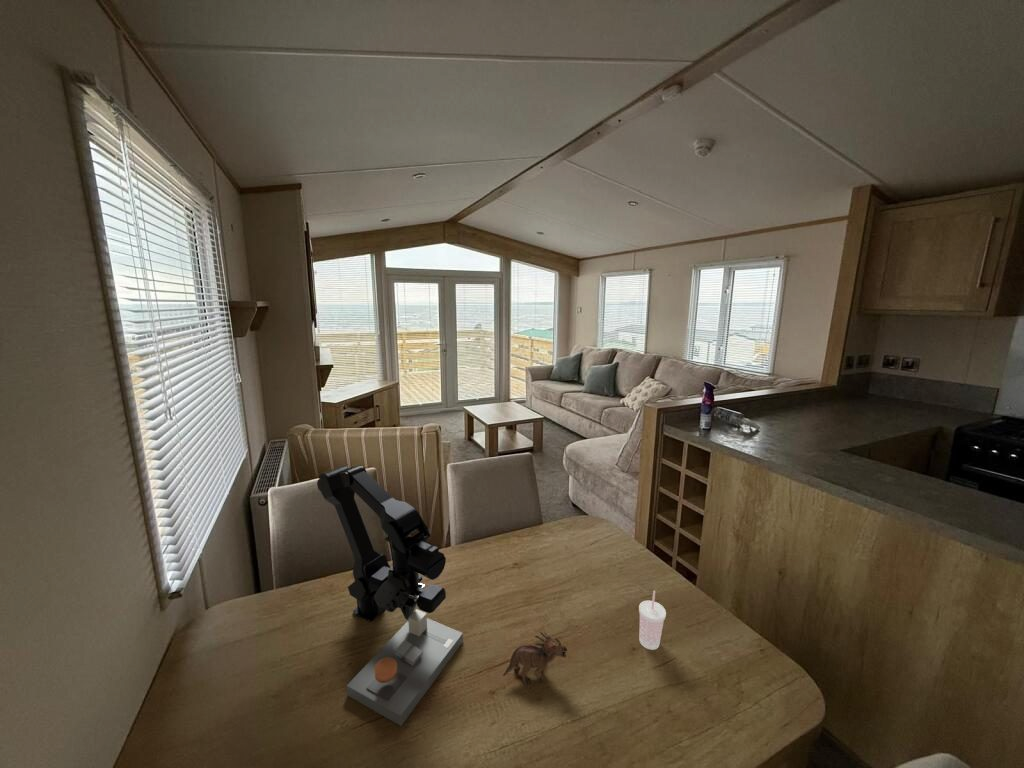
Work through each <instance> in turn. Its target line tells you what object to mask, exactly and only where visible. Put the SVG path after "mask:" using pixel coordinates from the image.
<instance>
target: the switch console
mask: <svg viewBox="0 0 1024 768" xmlns="http://www.w3.org/2000/svg"><path fill="white" fill-rule="evenodd" d="M463 637H464V634H463V632H461V631H459V630H456V629H454V628H452V627H450V626H447V625H445V624H442V623H440V622H437V621H435V620H433V619H431V618H428V617H427V628H426V629H425V631H424V632H423V633H422V634H421V635H420V636H417V635H415V634H412V633H410V632H409V620H406V622H405V624H403V625H402V626H401V628H400V629H399V630H398V631H397V632H396V633H395V634H394V635H393V636H392V637H391V638H390V639H389V640H388V641H387V642H386V643H385V645H383V647H382V648H381V649H380V650H379V651H378V652H377V653H376V654H375V655H374V656H373V657H372V658H371V659H370V660H369V662H368V663H367V664H366V665H365V666H363V668H361V670H360V671H359V672H358V673H357V674H356V675H355V676H354V677H353V678H352V680H350V682H349V683H347V685H346V693H347V696H348V697H350V698H351V699H353V700H354V701H356V702H358V703H360V704H362V705H364V706H365V707H367V709H371V710H372V711H374V712H375V713H377V714H379V715H381V716H382V717H385V718H386V719H388V720H389V721H392V722H393V723H394V724H397V725H398V726H400V727H402V726H403V724H404V723H405V722H406V720H407V719H408V717H409V716H410V715H411V713H412V712H413V711H414V709H415V708H416V707H417V705H418V704H419V703H420V701H421V700H422V698H424V696H425V694H426V693H427V692H428V690H429V689H430V687H431V686H432V685H433V684H434V682H436V679H437V678H438V676H439V675H440V674H441V672H442V671H443V669H444V668H445V667H446V666H447V664H448V663H449V661H450V660H451V659H452V658H453V656H454V655H455V653H456V651H458V649H459V648H460V646H462V644H463V642H464V639H463ZM404 640H406V641H408V642H409V643H411V644H412V645H414V646H415V647H417V648H418V649H420V650H422V651H423V652H422V655H421V657H420V658H419V659H418V660H417V661H416V663H415V664H414V665H413V666H412V665H411V664H409V663H408V662H406V661H404V660H403V659H402V658H400V657H399V656H397V655H396V654H395V650H396V649H397V648H398V647H399V646H400V644H401V643H402V642H403V641H404ZM387 657H390V658H393V659H395V660H396V662H397V674H396V676H395V677H394V679H392V680H391V681H389V682H387V683H380V682H378V681H377V680H376V679H375V671H374V668H375V665H376V664H377V662H378V661H380V660H381V659H383V658H387Z"/></svg>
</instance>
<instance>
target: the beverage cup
mask: <svg viewBox="0 0 1024 768" xmlns="http://www.w3.org/2000/svg"><path fill="white" fill-rule="evenodd" d="M655 599H656V590H652V600H650V599H649V600H643V601H642V602H640V603H639V605H638V612H639V631H638V632H639V636H638V637H639V638H638V639H639V643H640V644H641V645H642V646H643V647H644V648H645V649H647V650H652V651H653V650H657V649H658V648H659V646H660V643H661V638H662V637H661V636H662V633H663V631H662V630H663V628H664V627H663V626H664V622H665V620H666V617H667V616H666V615H667V610H666V609H665V607H664V606H663V605H662V604H660V603H659V602H657V601H655Z"/></svg>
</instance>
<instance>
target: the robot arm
mask: <svg viewBox="0 0 1024 768" xmlns="http://www.w3.org/2000/svg"><path fill="white" fill-rule="evenodd" d="M316 485H317V490H318V491H320V493H321V495H322V496H323V498H324V500H325V501H326V502H328V503H330V504H331V505H333V507H335V510H336V514H337V515H338V518H339V521H340V523H341V526H342V529H343V531H344V534H345V537H346V540H347V542H348V544H349V547H350V549H351V552H352V555H353V557H354V564H353V569H352V575H353V579H354V581H353V582H352V583H350V584H349V585H348V586H347V588H348V593H349V595H350V596H351V597H352V598H354V599H356V605H357V607H355V608H354V610H352V614H353V615H355V616H357V617H360V618H362V619H364V620H366V621H368V622H373V621H374V620H375V619H376V618H377V617H378V616H379V615H380V614H381V613H382V612H383V611H387V612H389V613H392V612H395V610H396V609H398V608H399V609H400V610H401V613H402V615H403V617H404V619H405V620H406V621H408V617H409V616H410V615H411V614H412V613H413V612H414V611H415V610H416V607H417V608H418V610H420V611H422V612H425V613H428V614H432V613H434V612H435V610H436V609H437V608H439V606H440V605H441V604H442V603H443V602H444V600H445V599H446V598H447V594H446V593H447V592H446V588H444V587H442V586H440V585H436V584H433V583H430V584H429V585H427V587H426V585H425V584H423V583H421V582H422V581H423V576H424V577H425V578H427V579H429V580H431V581H432V580H436V579H437V578H438V577H440V576H441V574H442V572H443V571H444V569H445V566H446V560H447V558H446V556H445V554H444V553H443V552H441V551H440V550H439V547H438V546H436V545H431V544H429V543H427V539H429V538H430V537H431V534H430V532H429V530H428V529H429V527H428V526H427V525H426V523H425V521H424V520H423V518H422V516H421V514H420V512H419V511H418V510H417V508H415V507H413V506H412V505H411V504H410V503H408V502H406V501H402V500H397V499H395V498H394V497H393V496H392V495H390V493H388V491H386V490H385V488H383V487H382V486H381V485H380V484H379V483H378V482H377V481H376V480H375V479H374V478H373V477H372V476H371V475H370V474H369V473H368V472H367V470H366V467H364V466H363V465H357V466H356V465H355V466H352V467H351V466H350V467H348V466H347V465H341V466H338V467H336V468H333V469H329V470H327V471H325V472H322V473H321V474H319V476H318V480H317V482H316ZM356 495H357V496H358V497H359V498H360V499H361V500H362V501H363V502H364V504H366V505H367V506H368V507H369V508H370V509H371V510H372V511H373V512H374V513H375V514H376V515H377V516H378V517H379V519H380V520H379V521H380V527H381V529H382V530H383V532H384V533H385V534H386V536H385V537H384V540H385V541H386V542H387V543H390V544H391V557H392V559H391V560H392V566H391V565H390V564H389V561H388V558H387V556H386V555H385V554H380V553H379V552H377V550H375V548H374V545H373V543H372V541H371V538H370V536H369V533H368V530H367V528H366V525H365V522H364V520H363V517H362V514H361V512H360V510H359V507H358V505H357V504H358V503H357V502H356V500H355V496H356ZM416 531H418V533H416V534H414V535H411V534H413V533H415V532H416Z"/></svg>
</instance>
